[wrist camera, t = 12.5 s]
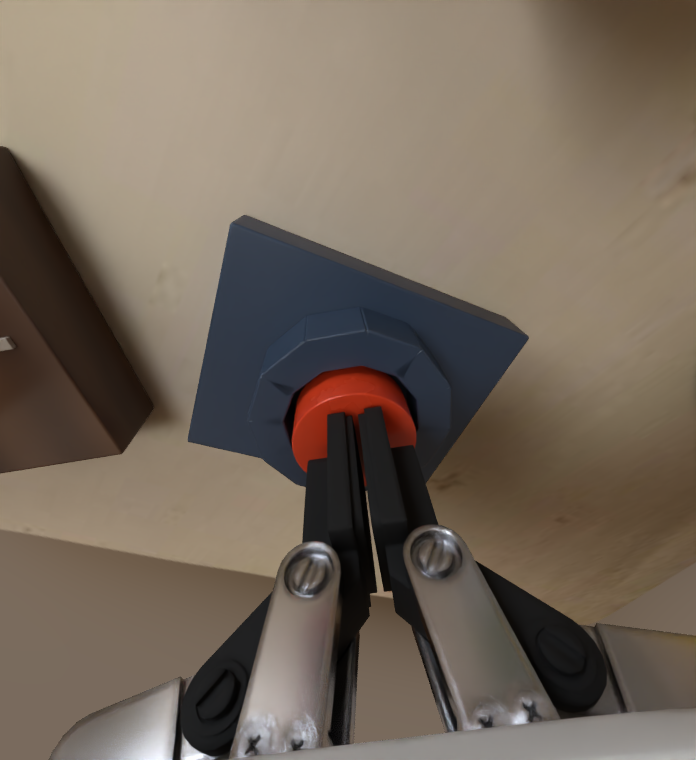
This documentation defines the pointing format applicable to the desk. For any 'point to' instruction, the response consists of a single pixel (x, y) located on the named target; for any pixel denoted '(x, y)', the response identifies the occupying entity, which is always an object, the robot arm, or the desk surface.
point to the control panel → (55, 348)
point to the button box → (336, 345)
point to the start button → (348, 410)
